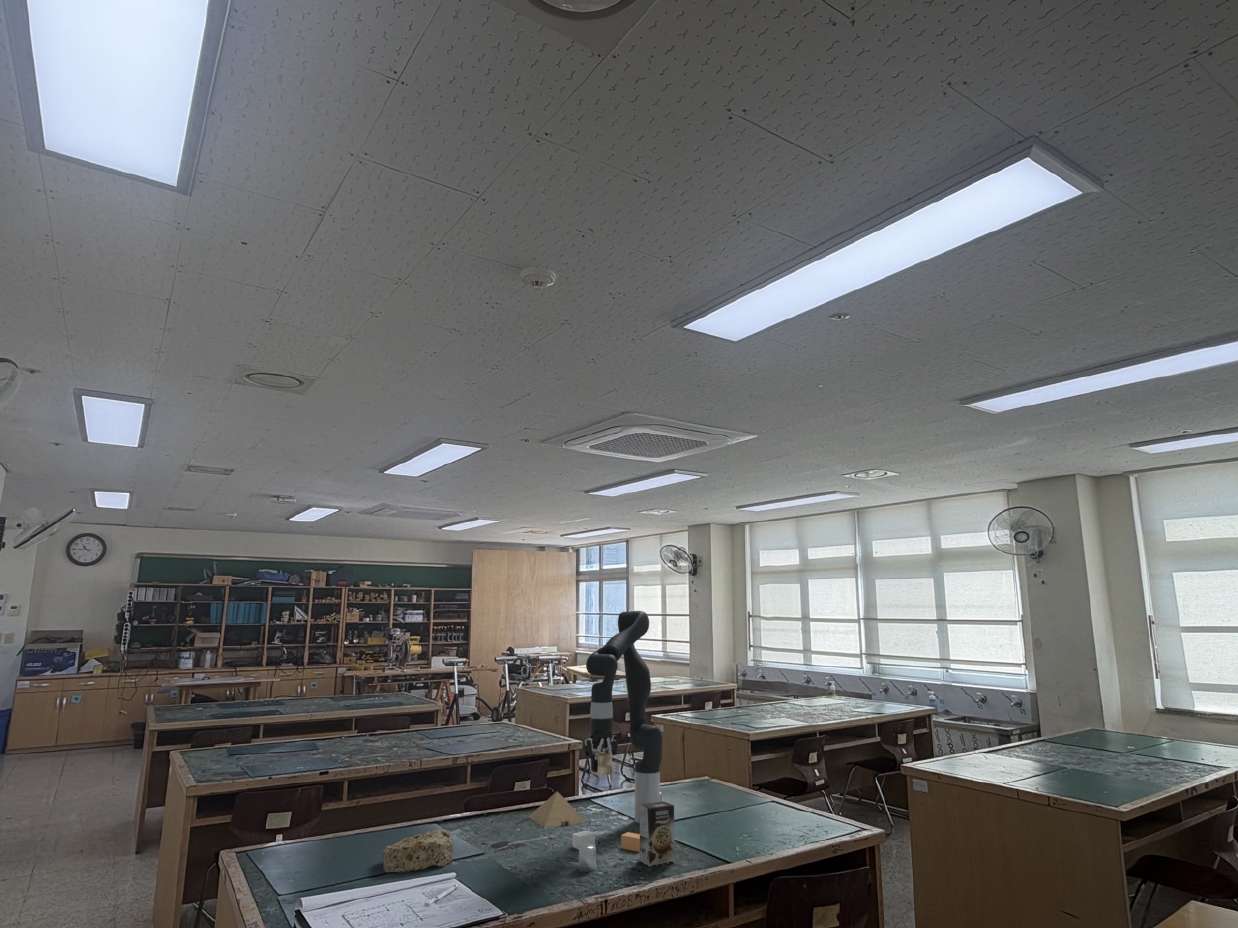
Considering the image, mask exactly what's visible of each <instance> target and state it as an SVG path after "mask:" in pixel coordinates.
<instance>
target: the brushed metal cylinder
mask: <svg viewBox="0 0 1238 928" xmlns="http://www.w3.org/2000/svg"><path fill="white" fill-rule="evenodd" d="M596 860H597V846H596V844H595V845H593V844H583V845H580V846H579V849H578V870H579V871H580V872H584V873H591V872H593V871H595V870H596V869H597V868H596V867H597V866H596V864H597V861H596Z"/></svg>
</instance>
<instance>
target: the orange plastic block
mask: <svg viewBox="0 0 1238 928" xmlns="http://www.w3.org/2000/svg"><path fill="white" fill-rule="evenodd" d="M620 836H621V837H620V840H621V841H620V846H621V847H620V848H621V849H622V850H628V851H633V852H637V853H640V833H635V832H629V831H627V832H625V833H623V834H621V835H620Z"/></svg>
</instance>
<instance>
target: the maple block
mask: <svg viewBox="0 0 1238 928" xmlns="http://www.w3.org/2000/svg"><path fill="white" fill-rule="evenodd" d="M594 755H595V754H594ZM597 760H598V771H597V772H592V770H591V769H590V774H592V775H596V776H599V777H603V776H607V775H612V774H613V756H612V754H608V753H604V751H602V752H601V751H600V753H599V754H598V758H597Z"/></svg>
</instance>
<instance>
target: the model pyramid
mask: <svg viewBox="0 0 1238 928" xmlns="http://www.w3.org/2000/svg"><path fill="white" fill-rule="evenodd" d="M529 818H530V819H531V820H532V821H534V822H535V823H537V824H538V825H539V826H542V827H543V826H544V827H548V828H551V827H550V826H555V827H560V826H563V827H565V826H566V825H567V826H571V825H575V824H581V823H585V822H587V821H586V820H585V819H584V818H583V817H582V816H581V815H580V814H579V812H577V810H576V809H575V808H574V807H573V806H572V805H571V804H570V803H569V802H568V801H567V800H566V799H565V797H564V796H563V795H561V793H560V792H558V791H556V792H554V794H552V795H550V797H548V799H547V800H545V801H544V802H543V803H542V804H540V806H539V807H537V808H536V809H535V810H534V811H533V812H532V813H530V815H528V819H529ZM544 827H543V828H544Z"/></svg>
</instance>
